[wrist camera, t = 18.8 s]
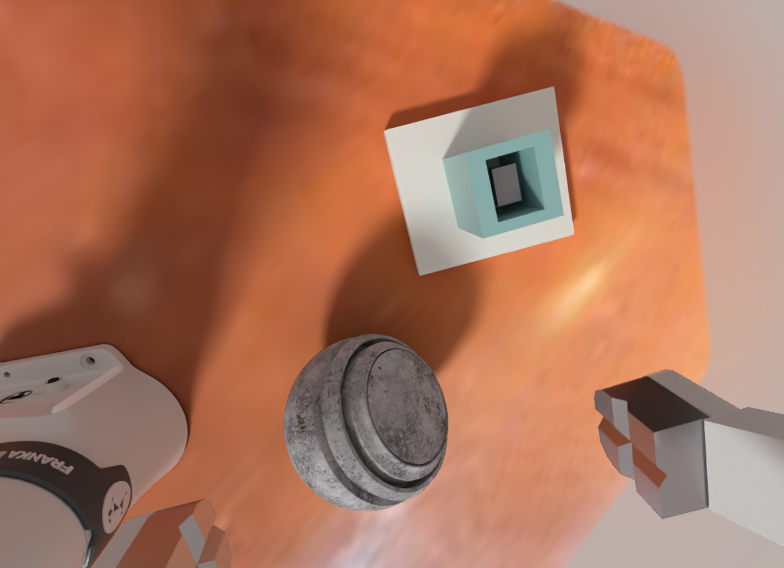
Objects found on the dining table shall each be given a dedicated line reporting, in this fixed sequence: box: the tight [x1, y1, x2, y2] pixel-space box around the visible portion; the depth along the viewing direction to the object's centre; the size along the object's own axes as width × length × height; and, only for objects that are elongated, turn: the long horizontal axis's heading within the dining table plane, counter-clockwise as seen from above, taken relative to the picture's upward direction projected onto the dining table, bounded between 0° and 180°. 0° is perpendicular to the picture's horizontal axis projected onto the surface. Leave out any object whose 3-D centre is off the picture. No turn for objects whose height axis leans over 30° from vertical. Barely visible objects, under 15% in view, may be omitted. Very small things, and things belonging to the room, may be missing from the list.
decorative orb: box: [284, 334, 448, 511], centre depth 37 cm, size 15×14×15 cm
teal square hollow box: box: [442, 129, 564, 239], centre depth 35 cm, size 7×7×8 cm
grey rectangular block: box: [487, 163, 522, 206], centre depth 36 cm, size 2×3×6 cm, turn 14°
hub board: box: [384, 86, 574, 276], centre depth 39 cm, size 16×14×2 cm
